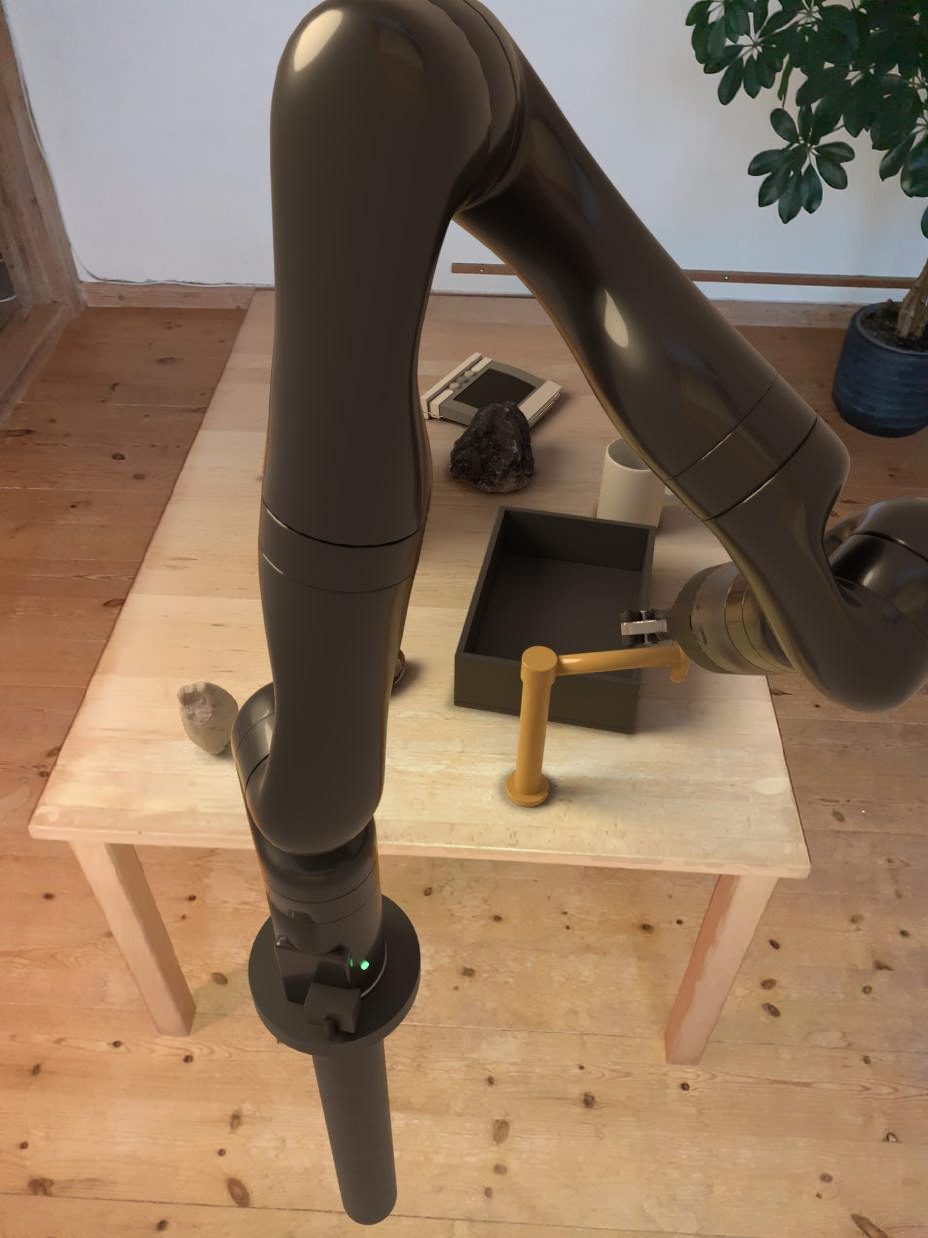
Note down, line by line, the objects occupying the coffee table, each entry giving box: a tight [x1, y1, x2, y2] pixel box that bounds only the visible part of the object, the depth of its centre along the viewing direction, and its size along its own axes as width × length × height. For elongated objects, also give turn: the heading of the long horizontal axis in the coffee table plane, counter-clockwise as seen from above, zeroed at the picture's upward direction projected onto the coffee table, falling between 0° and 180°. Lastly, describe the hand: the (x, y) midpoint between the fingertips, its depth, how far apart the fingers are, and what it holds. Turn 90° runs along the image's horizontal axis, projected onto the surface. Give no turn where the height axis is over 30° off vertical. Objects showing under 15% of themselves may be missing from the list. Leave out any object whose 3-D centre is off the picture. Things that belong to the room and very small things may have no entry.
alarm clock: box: [420, 352, 563, 430], centre depth 155 cm, size 17×5×16 cm
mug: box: [596, 436, 683, 530], centre depth 131 cm, size 12×8×11 cm
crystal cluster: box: [448, 401, 536, 493], centre depth 140 cm, size 13×14×10 cm
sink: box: [453, 504, 657, 735], centre depth 115 cm, size 28×20×8 cm
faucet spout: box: [521, 644, 692, 689], centre depth 90 cm, size 16×3×5 cm, turn 98°
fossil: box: [176, 681, 240, 755], centre depth 101 cm, size 6×4×10 cm, turn 111°
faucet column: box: [505, 683, 551, 808], centre depth 95 cm, size 4×4×17 cm
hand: (665, 625), depth 80 cm, fingers closed
